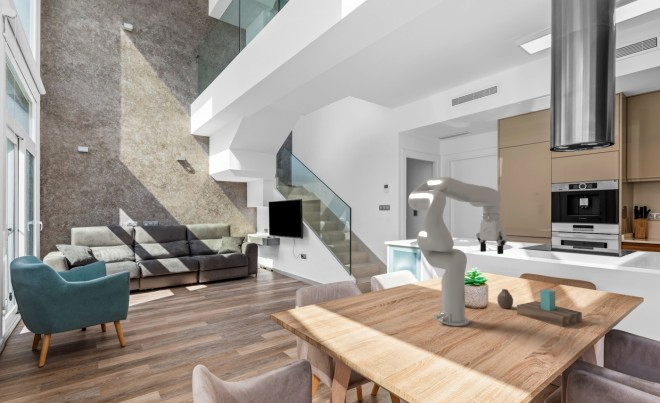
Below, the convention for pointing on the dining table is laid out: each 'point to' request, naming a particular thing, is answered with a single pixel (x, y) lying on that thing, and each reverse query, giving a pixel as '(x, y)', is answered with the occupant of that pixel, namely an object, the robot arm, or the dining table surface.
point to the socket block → (550, 314)
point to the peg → (547, 300)
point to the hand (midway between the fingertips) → (491, 252)
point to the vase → (505, 299)
